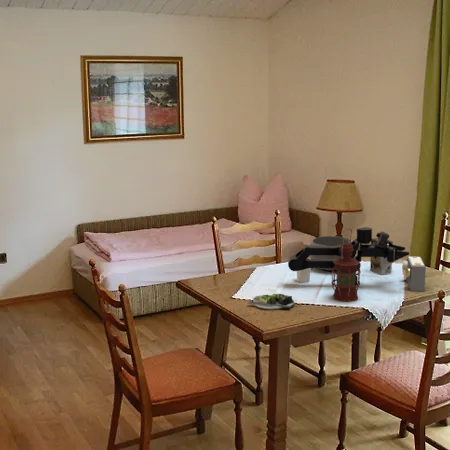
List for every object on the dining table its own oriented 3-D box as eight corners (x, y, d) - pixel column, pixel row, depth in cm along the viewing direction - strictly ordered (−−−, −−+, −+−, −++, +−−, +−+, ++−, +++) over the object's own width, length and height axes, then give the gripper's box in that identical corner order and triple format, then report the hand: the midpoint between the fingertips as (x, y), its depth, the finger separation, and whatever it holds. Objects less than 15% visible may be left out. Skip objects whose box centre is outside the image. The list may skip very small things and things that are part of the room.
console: (410, 290, 278) (411, 265, 276) (406, 279, 296) (407, 255, 293) (424, 291, 277) (425, 265, 275) (419, 279, 294) (420, 255, 292)
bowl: (302, 265, 322) (303, 237, 319) (339, 262, 328) (339, 234, 325) (320, 276, 303) (321, 245, 300) (358, 272, 309) (359, 242, 306)
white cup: (293, 281, 295) (293, 267, 293) (299, 278, 301) (299, 263, 299) (307, 283, 292) (307, 269, 290) (312, 279, 297) (313, 265, 296)
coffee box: (369, 270, 311) (370, 238, 308) (380, 269, 314) (381, 237, 311) (381, 275, 303) (382, 242, 300) (392, 273, 306) (393, 241, 302)
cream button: (403, 270, 290) (403, 262, 289) (402, 268, 294) (402, 260, 293) (409, 270, 289) (410, 262, 289) (409, 268, 293) (409, 260, 293)
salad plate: (250, 313, 254) (250, 302, 253) (244, 299, 272) (244, 289, 271) (297, 310, 256) (298, 299, 255) (289, 297, 273) (289, 287, 272)
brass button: (405, 278, 278) (406, 269, 278) (404, 275, 282) (405, 266, 281) (412, 278, 278) (413, 269, 277) (411, 275, 282) (412, 267, 281)
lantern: (350, 304, 262) (352, 233, 256) (325, 298, 270) (326, 229, 264) (365, 297, 271) (367, 228, 265) (340, 291, 279) (341, 225, 273)
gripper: (375, 237, 272) (412, 237, 270) (369, 228, 290) (403, 228, 289) (374, 262, 274) (411, 263, 273) (368, 252, 292) (402, 252, 291)
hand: (407, 250), depth 281 cm, fingers open, 9 cm apart
